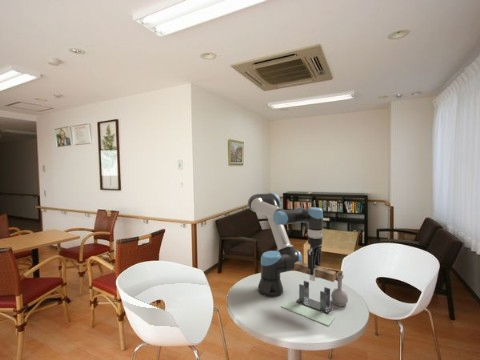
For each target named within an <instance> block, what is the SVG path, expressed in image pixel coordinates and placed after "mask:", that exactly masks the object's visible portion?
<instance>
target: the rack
mask: <svg viewBox="0 0 480 360" xmlns="http://www.w3.org/2000/svg"><path fill="white" fill-rule="evenodd" d="M298 290H299V291H298V299H296V300H295V301H296V302H295V303H298V304H300V305H303V306H306V307H308V308H311V309H313V310H316V311H319V312H321V313H324V314H327V315H329V314H330V312H331V311H332V310H333V309H334V306H332V305H331V288H330V287H326V286H324V288H323V290H320V292H319V301H318V300H315V299H312V298H310V281H306V280H303V284H301V283H299V284H298Z"/></svg>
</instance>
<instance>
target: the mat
mask: <svg viewBox="0 0 480 360" xmlns="http://www.w3.org/2000/svg"><path fill="white" fill-rule="evenodd" d="M280 307H281V308H283V309H286V310H288V311H289V312H293V313H295V314H297V315H300V316H303V317H304V318H306V319H307V318H308V319H310V320H312V321H315V322H317V323H319V324H322V325H324V326H326V327H330V326H331V324H333V322H334V321H335V319H336V317H334V316H331V315H329V314H326V313H323V312H321V311H318V310H316V309H313V308H310V307H308V306H305V305H302V304H300V303H297V302H295V301H292V300H290V299H288V300H287V301H286V302H283V304H281V306H280Z"/></svg>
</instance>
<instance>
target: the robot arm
mask: <svg viewBox="0 0 480 360" xmlns="http://www.w3.org/2000/svg"><path fill="white" fill-rule="evenodd" d="M281 202H282V201H281V198H280V196H279V195H278V194H277V193H272V192H269V193H256V194H252V195H251V196H250V197H249V199H248V201H247V207H248V209H249V210H250V211H252V212H253V213H259V214H261V215H264V216H265V217H267V220H268V223H269V226H270V229H271V231H272V235H273V238H274V241H275V245H276V247H277V250H267V251H265V252H263V253H262V254H261V257H260V279H259V283H258V286H257V291H258V293H259V295H261V296H263V297H266V298H267V297H269V298H276V297H280V296H282V295H283V294H284V293H283V292H284V286H283V284H282V281H281V274H282V273H283V274H284V273H287V272H292V271H293V272H294V271H295V270H294V263H296V262H297V261H299V262H302V263H303V256H302V253H301V252H300V251H299V250H298V249H295V245H293V244H291V241H290V239H289V236H288V234H287V231H286V228H285V225H289V224H299V223H305V224H307V244H308V245H310V246H309V250H307V251H306V252H307V264H308V268H309V269H310V275H309V281H313V282H315V281H316V279H319V278H318V277H315V269H314V268H315V266H317V267H321V266H322V264H321V263H322V261H321V260H322V248H323V234H324V231H323V228H324V227H323V225H324V224H323V223H324V211H323V208H320V207H316V206H315V207H308V209H307V208H303V207H296V208H295V209H283V208H281V205H282V204H281Z"/></svg>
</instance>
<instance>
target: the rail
mask: <svg viewBox="0 0 480 360" xmlns="http://www.w3.org/2000/svg"><path fill="white" fill-rule="evenodd" d="M314 269H315V278H316V277H318V278H317V279H321V280H326V281H328V282H331V283H334V282H335V281H336V279H337V275H336V274H337V272H336V271H335V270H330V269H327V268H325V267H321V266H319V267H317V266H315V268H314ZM294 271H295V272H299V273H303V274H306V275H309V276H310V269H309V268H308V263H306V262H303V261H302V262H299V261H297V262H296V263H294Z"/></svg>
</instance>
